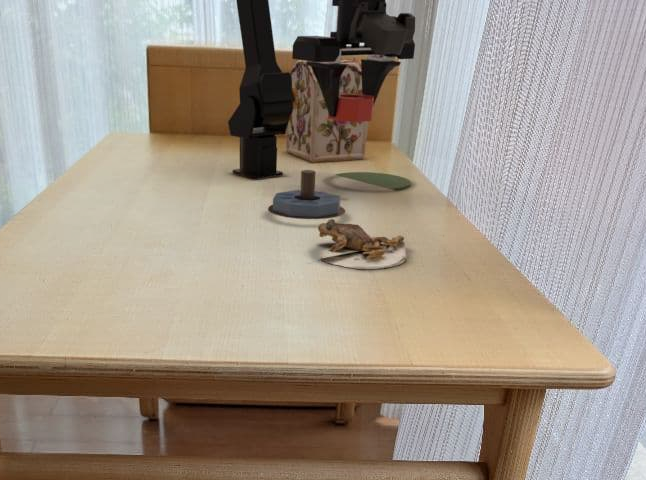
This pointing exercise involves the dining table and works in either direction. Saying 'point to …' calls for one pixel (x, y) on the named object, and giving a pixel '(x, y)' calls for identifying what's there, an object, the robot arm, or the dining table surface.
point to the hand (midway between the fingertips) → (350, 115)
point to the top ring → (354, 108)
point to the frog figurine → (362, 247)
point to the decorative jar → (323, 118)
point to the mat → (379, 179)
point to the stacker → (307, 195)
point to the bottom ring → (306, 204)
